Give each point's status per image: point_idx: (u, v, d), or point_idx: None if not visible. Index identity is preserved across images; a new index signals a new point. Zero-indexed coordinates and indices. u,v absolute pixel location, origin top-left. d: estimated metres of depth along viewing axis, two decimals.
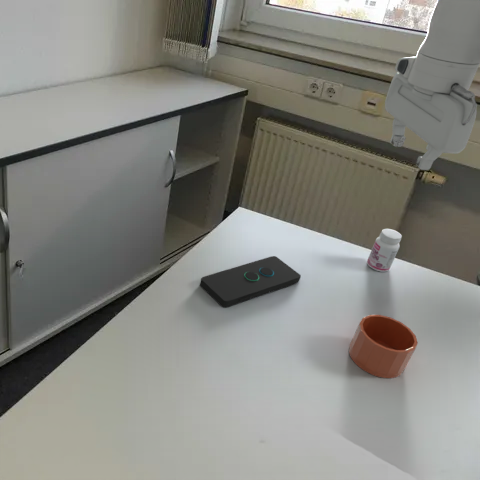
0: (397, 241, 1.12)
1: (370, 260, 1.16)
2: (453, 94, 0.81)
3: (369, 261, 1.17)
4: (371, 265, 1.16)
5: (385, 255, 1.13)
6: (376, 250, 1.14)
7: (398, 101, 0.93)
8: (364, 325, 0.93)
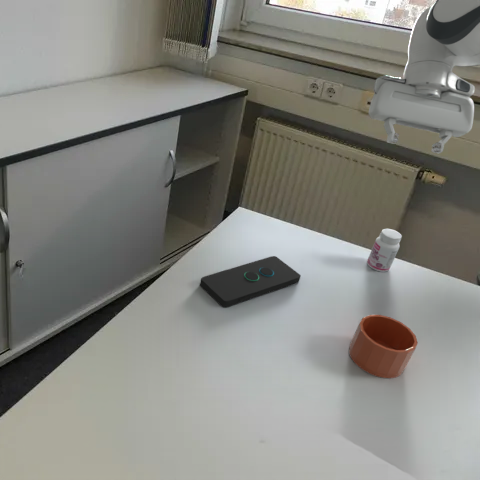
0: (397, 241, 1.12)
1: (370, 260, 1.16)
2: None
3: (369, 261, 1.17)
4: (371, 265, 1.16)
5: (385, 255, 1.13)
6: (376, 250, 1.14)
7: None
8: (364, 325, 0.93)
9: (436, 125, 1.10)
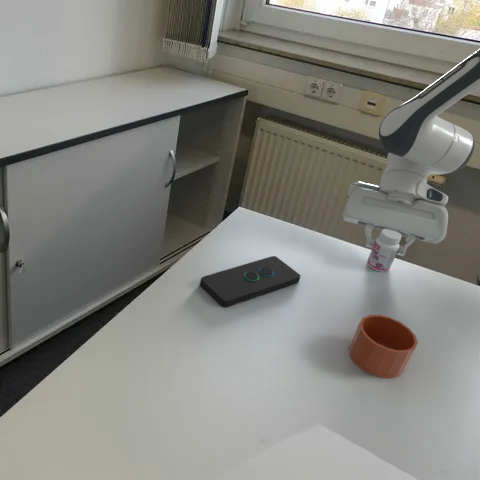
0: (397, 241, 1.12)
1: (370, 260, 1.16)
2: None
3: (369, 261, 1.17)
4: (371, 265, 1.16)
5: (385, 255, 1.13)
6: (375, 250, 1.14)
7: None
8: (364, 325, 0.93)
9: (407, 231, 1.13)
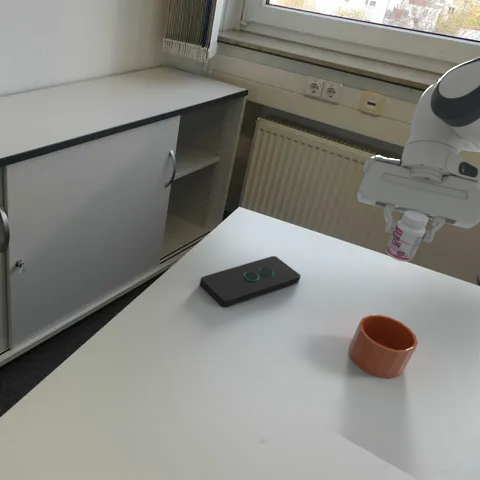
0: (423, 224, 0.94)
1: (390, 248, 0.98)
2: None
3: (389, 249, 0.99)
4: (391, 254, 0.98)
5: (409, 241, 0.95)
6: (397, 236, 0.96)
7: None
8: (364, 325, 0.93)
9: (434, 213, 0.95)
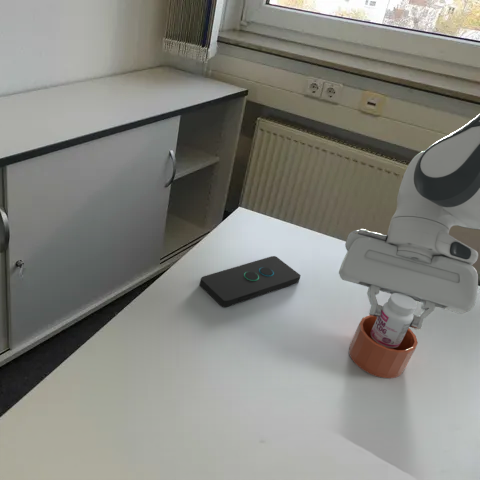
0: (411, 311, 0.85)
1: (375, 333, 0.89)
2: None
3: (373, 333, 0.90)
4: (376, 339, 0.89)
5: (395, 328, 0.86)
6: (382, 321, 0.87)
7: None
8: (364, 325, 0.93)
9: (423, 297, 0.86)
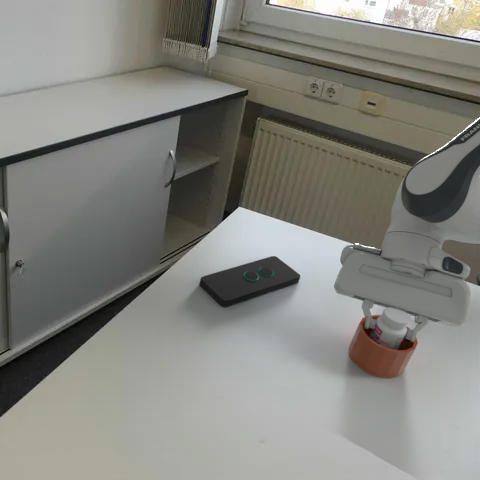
0: (404, 325, 0.87)
1: None
2: None
3: None
4: None
5: (389, 342, 0.88)
6: (376, 335, 0.89)
7: None
8: None
9: (416, 311, 0.88)
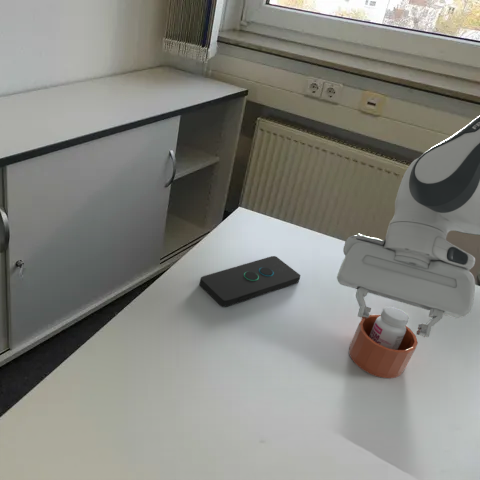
0: (404, 323, 0.87)
1: None
2: None
3: None
4: None
5: (389, 340, 0.89)
6: (376, 334, 0.90)
7: None
8: (364, 325, 0.93)
9: (421, 302, 0.87)
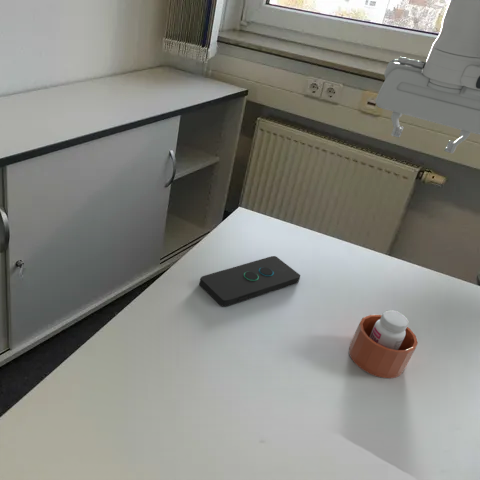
0: (403, 329, 0.87)
1: None
2: None
3: None
4: None
5: (388, 345, 0.88)
6: (375, 338, 0.90)
7: None
8: (364, 325, 0.93)
9: (447, 125, 0.95)
